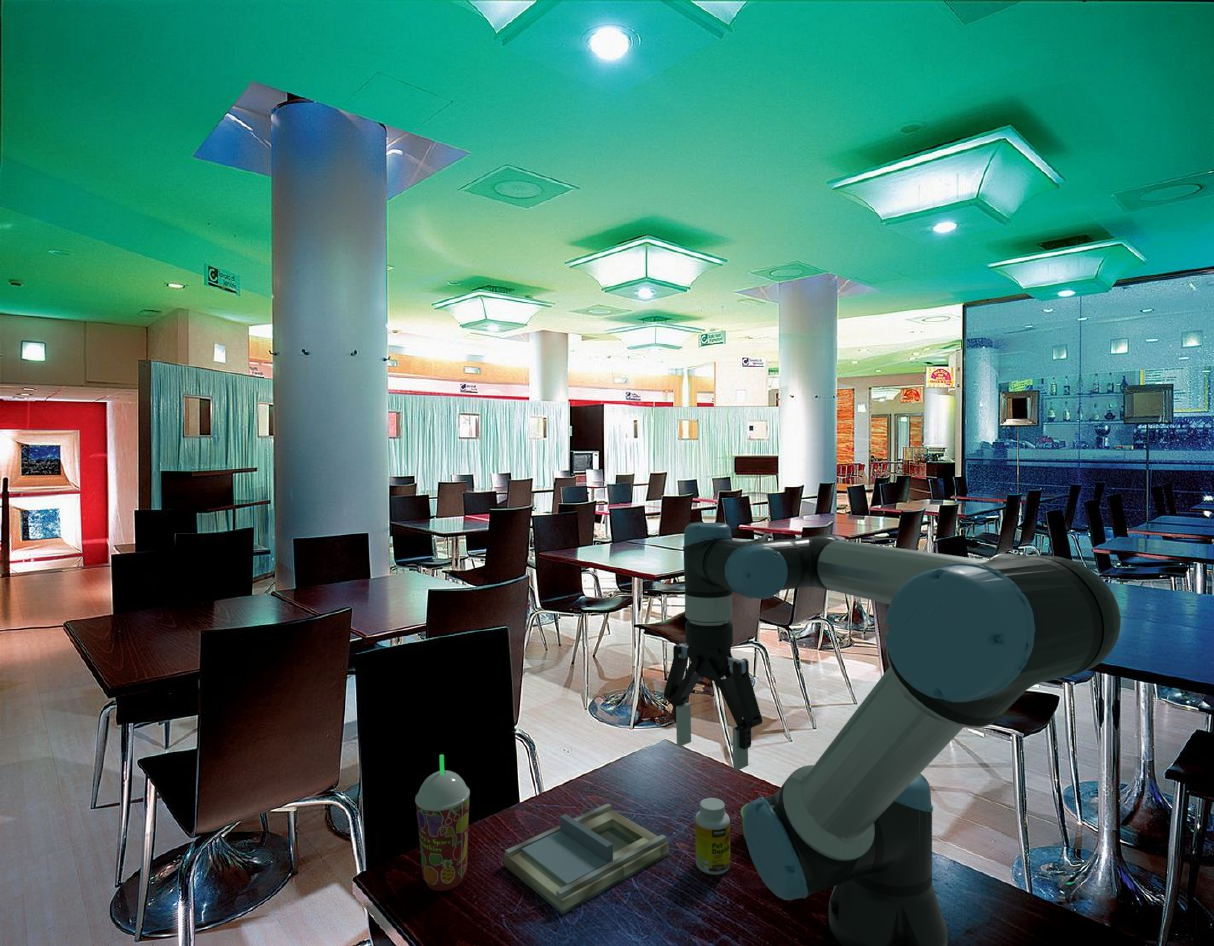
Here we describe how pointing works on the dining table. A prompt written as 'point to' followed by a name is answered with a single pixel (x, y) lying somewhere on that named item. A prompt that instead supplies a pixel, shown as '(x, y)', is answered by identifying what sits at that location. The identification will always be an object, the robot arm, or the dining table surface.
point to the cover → (570, 851)
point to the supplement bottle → (712, 837)
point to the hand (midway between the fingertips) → (711, 755)
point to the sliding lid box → (629, 857)
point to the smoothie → (443, 828)
